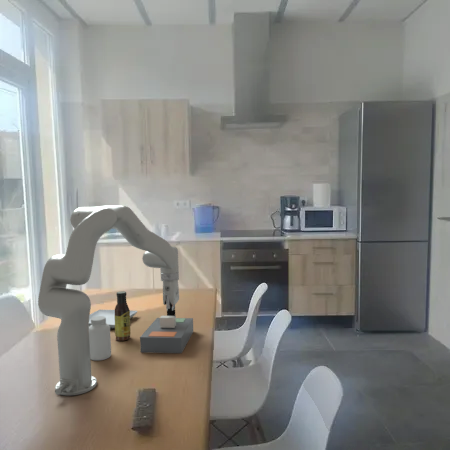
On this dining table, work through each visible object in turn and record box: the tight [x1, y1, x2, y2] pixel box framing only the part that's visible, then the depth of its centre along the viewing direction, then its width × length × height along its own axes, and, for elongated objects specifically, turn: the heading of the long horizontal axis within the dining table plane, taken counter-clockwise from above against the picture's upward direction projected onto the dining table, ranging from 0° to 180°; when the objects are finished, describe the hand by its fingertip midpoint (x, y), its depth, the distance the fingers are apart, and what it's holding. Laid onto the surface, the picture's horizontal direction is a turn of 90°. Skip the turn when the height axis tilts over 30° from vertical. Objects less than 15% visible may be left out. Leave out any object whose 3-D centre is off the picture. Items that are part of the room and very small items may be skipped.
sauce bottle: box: [114, 290, 131, 342], centre depth 179 cm, size 7×6×20 cm
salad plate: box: [89, 309, 138, 329], centre depth 203 cm, size 21×21×3 cm
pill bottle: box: [89, 316, 112, 361], centre depth 161 cm, size 8×8×15 cm
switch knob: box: [159, 315, 177, 328], centre depth 175 cm, size 3×6×4 cm, turn 83°
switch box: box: [139, 317, 194, 354], centre depth 176 cm, size 24×16×6 cm, turn 173°
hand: (171, 319), depth 181 cm, fingers closed
